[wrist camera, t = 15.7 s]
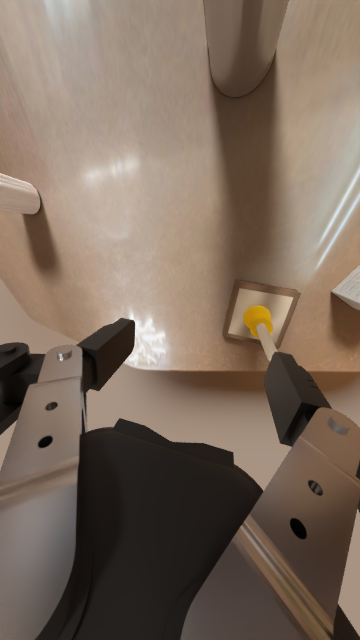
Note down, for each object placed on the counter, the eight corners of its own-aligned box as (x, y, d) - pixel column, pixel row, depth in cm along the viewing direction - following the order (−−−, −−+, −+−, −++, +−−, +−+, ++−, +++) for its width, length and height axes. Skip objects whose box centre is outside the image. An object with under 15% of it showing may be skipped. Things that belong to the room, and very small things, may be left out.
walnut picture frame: (222, 330, 45) (222, 336, 42) (234, 279, 40) (235, 282, 37) (275, 341, 43) (279, 348, 40) (295, 289, 38) (301, 293, 35)
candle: (238, 321, 40) (245, 365, 26) (253, 300, 37) (269, 335, 23) (260, 333, 40) (279, 383, 26) (276, 313, 37) (307, 356, 23)
